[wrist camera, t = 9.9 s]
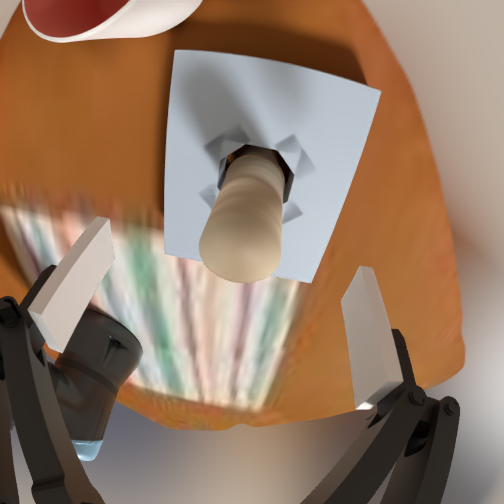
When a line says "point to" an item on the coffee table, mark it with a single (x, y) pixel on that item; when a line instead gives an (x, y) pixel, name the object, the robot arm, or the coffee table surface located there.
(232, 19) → the coffee table surface
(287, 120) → the board
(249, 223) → the peg
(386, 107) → the coffee table surface
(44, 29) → the cup
